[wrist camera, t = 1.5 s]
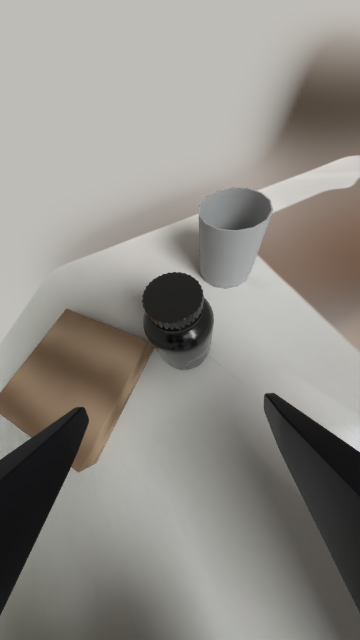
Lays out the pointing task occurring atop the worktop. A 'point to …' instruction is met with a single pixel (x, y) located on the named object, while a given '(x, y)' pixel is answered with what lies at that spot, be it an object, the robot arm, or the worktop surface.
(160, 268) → the worktop surface
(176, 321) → the supplement bottle
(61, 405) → the walnut block
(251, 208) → the cup
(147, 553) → the worktop surface
